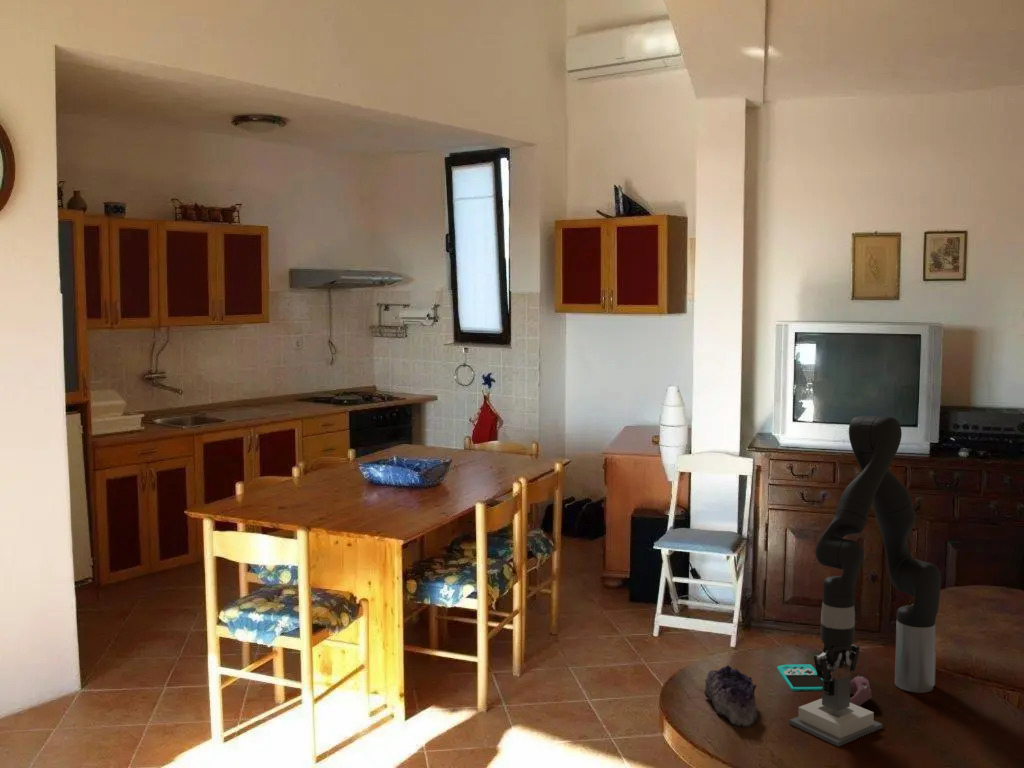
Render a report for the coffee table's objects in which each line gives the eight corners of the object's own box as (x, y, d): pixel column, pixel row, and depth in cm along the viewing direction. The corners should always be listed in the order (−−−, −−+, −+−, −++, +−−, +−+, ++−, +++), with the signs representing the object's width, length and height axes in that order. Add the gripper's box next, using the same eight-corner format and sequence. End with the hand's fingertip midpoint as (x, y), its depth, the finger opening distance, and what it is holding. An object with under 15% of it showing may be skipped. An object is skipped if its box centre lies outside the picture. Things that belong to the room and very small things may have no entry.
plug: (834, 700, 234) (835, 659, 233) (849, 706, 230) (850, 665, 229) (821, 704, 231) (823, 663, 230) (837, 711, 228) (838, 669, 227)
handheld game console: (812, 668, 267) (812, 663, 267) (831, 692, 251) (831, 687, 251) (775, 668, 267) (775, 663, 267) (792, 693, 251) (792, 688, 251)
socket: (833, 706, 241) (833, 691, 241) (882, 728, 230) (882, 711, 229) (789, 723, 233) (789, 707, 232) (838, 746, 221) (838, 729, 220)
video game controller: (862, 715, 240) (877, 692, 239) (845, 706, 240) (859, 683, 239) (856, 698, 250) (869, 675, 248) (839, 690, 250) (853, 667, 249)
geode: (775, 727, 231) (770, 688, 230) (727, 736, 230) (723, 697, 229) (745, 688, 251) (741, 652, 250) (702, 696, 250) (697, 660, 249)
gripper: (844, 611, 236) (842, 680, 237) (804, 623, 228) (802, 694, 229) (870, 620, 229) (868, 690, 231) (831, 633, 221) (829, 705, 223)
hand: (835, 692), depth 230 cm, fingers closed on plug, 4 cm apart
